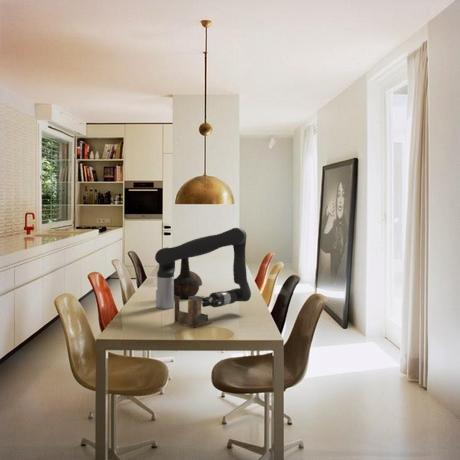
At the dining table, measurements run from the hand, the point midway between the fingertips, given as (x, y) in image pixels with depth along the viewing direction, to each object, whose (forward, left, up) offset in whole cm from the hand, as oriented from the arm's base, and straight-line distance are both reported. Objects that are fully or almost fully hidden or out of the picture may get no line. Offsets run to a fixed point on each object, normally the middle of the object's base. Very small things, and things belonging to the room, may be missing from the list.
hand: (196, 303), depth 266 cm
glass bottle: (-53, +40, -10) cm, 67 cm away
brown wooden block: (0, -2, -8) cm, 9 cm away
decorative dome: (-85, +72, -10) cm, 111 cm away
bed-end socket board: (0, -2, -10) cm, 10 cm away
